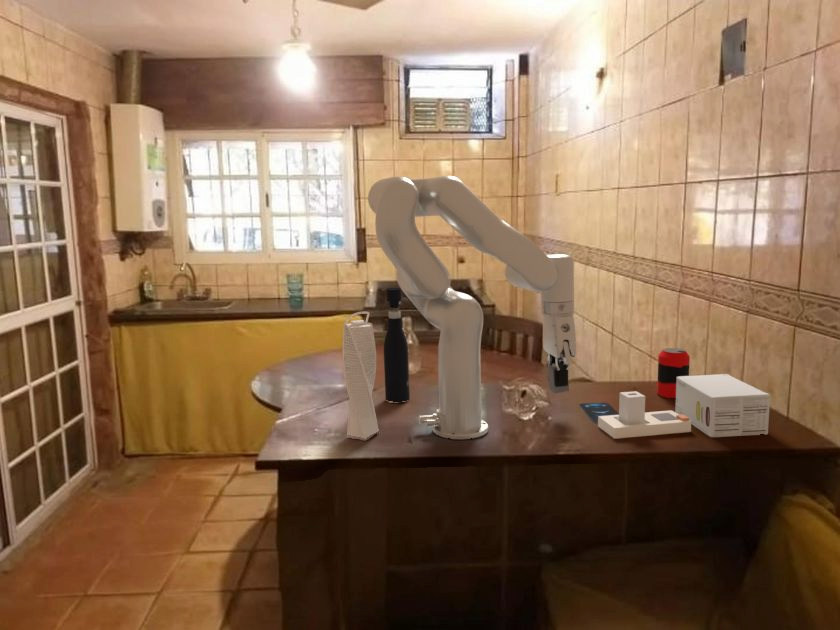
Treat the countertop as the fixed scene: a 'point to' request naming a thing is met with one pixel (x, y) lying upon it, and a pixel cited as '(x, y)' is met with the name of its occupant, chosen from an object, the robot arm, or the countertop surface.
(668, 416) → the power strip
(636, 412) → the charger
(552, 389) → the cable plug
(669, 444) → the countertop surface
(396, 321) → the wine bottle
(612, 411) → the smartphone
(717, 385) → the supplement box
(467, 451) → the countertop surface
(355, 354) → the skyscraper
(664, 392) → the soda can
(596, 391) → the countertop surface
